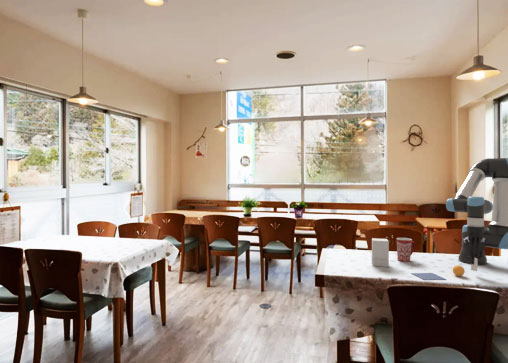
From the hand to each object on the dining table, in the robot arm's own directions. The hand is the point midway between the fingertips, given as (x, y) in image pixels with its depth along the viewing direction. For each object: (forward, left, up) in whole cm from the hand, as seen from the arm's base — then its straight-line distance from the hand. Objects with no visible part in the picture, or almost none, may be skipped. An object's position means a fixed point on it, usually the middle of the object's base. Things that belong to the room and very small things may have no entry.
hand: (474, 270), depth 191 cm
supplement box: (+40, -26, -3) cm, 48 cm away
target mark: (+26, 0, -3) cm, 26 cm away
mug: (+18, -36, -3) cm, 40 cm away
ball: (+9, 0, 0) cm, 9 cm away
